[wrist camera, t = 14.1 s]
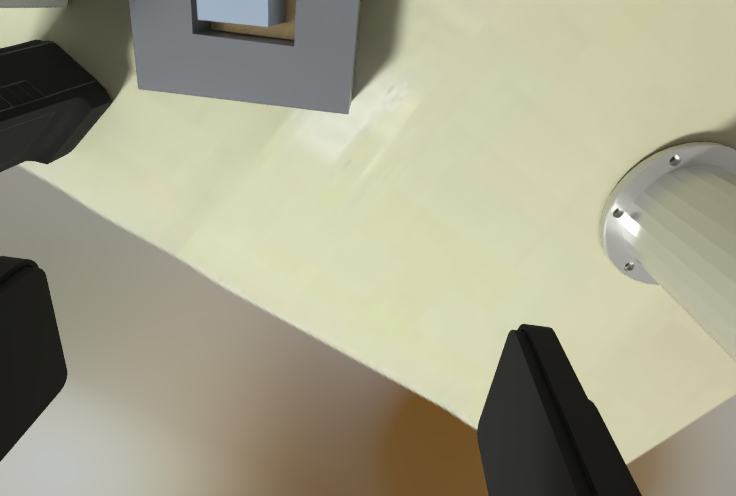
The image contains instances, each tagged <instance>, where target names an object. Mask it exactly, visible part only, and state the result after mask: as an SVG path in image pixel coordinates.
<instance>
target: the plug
mask: <svg viewBox="0 0 736 496" xmlns="http://www.w3.org/2000/svg"><path fill="white" fill-rule="evenodd" d="M197 14H198V20H206V21H215V22H225V23H234V24H244V25H253V26H263V27H270V26H274V25H278V24H281V23H285V22H286V0H197Z"/></svg>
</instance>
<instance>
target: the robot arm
mask: <svg viewBox="0 0 736 496" xmlns="http://www.w3.org/2000/svg"><path fill="white" fill-rule="evenodd" d="M600 239H601V244H602V248H603V250H604V252H605V254H606V256H607V258H608V259H609V260H610V261H611V262H612V264H613V265H614V266H615V267H616V268H617V269H618V270H619V271H620V272H621V273H622V274H624V275H626V276H627V277H629V278H631V279H633V280H636V281H639V282H642V283H646V284H654V285H660V286H661V287H662V288H663V289H664V290H665V291H666V292H667V293H668V294H669V295H670V296H671V297H672V298H673V299H674V300H675V301H676V302H677V303H678V304H679V305H680V306H681V307H682V308H683V309H684V310H685V311H686V312H687V313H688V314H689V315H690V316H691V317H692V318H693V319H694V320H695V321H696V322H697V323H698V324H699V325H700V327H701V328H702V329H703V330H704V331H705V332H706V333H707V334H708V335H709V336H710V337H711V338H712V339H713V340H714V341H715V342H716V343H717V344H718V345H719V346H720V347H721V348H722V349H723V350H724V351H725V352H726V353H727V354H728V355H729V356H730V357H731V358H732V359H733V360H734V361H735V362H736V150H735V149H733V148H731V147H728V146H725V145H722V144H719V143H711V142H691V143H685V144H681V145H677V146H672V147H670V148H667V149H665V150H662V151H660V152H658V153H655V154H654V155H652V156H650V157H649V158H647V159H645V160H644V161H642V162H641V163H639V164H638V165H637V166H636V167H634V168H633V169H632V170H631V171H630V172H628V173H627V174H626V176H625V177H624V178H623V179H622V180H621V181H620V182H619V183H618V184H617V186H616V187H615V189H614V190H613V192H612V193H611V195H610V196H609V198H608V200H607V203H606V205H605V207H604V209H603V212H602V217H601V221H600ZM66 379H67V368H66V364H65V359H64V354H63V350H62V345H61V341H60V336H59V332H58V327H57V323H56V318H55V314H54V309H53V305H52V301H51V296H50V291H49V287H48V282H47V278H46V274H45V272H44V271H43V270H42V269H40V268H39V267H38V265H37V264H36V263H35V262H34V261H32V260H29V259H20V258H13V257H6V256H0V461H1V460H2V459H3V458H4V456H6V454H7V453H8V452H9V451H10V450H11V449H12V447H13V446H14V445H15V444H16V443H17V441H18V440H19V439H20V438H21V437H22V435H23V434H24V433H25V432H26V431H27V430H28V428H29V427H30V426H31V425H32V424H33V423H34V421H35V420H36V419H37V418H38V417H39V416H40V414H41V413H42V412H43V411H44V410H45V409H46V407H47V406H48V405H49V404H50V402H51V401H52V400H53V399H54V398H55V397H56V396H57V394H58V393H59V392H60V391H61V389H62V388H63V386H64V384H65V382H66ZM477 435H478V444H479V449H480V454H481V458H482V464H483V469H484V474H485V479H486V484H487V489H488V494H489V496H642V495H641V493H640V492H639V489H638V488H637V485H636V484H635V482H634V480H633V478H632V476H631V474H630V472H629V470H628V468H627V466H626V464H625V462H624V460H623V458H622V456H621V454H620V452H619V450H618V448H617V446H616V444H615V442H614V440H613V439H612V437H611V435H610V433H609V431H608V429H607V427H606V425H605V423H604V421H603V419H602V417H601V415H600V413H599V411H598V409H597V408H596V406H595V405H594V403H593V402H592V401H590V400H589V399H588V398H587V396H586V394H585V392H584V390H583V388H582V386H581V384H580V382H579V380H578V378H577V376H576V374H575V372H574V370H573V368H572V366H571V364H570V362H569V360H568V358H567V356H566V354H565V352H564V350H563V348H562V346H561V344H560V342H559V340H558V338H557V336H556V334H555V332H554V331H553V329H552V328H550V327H543V326H535V325H528V324H522V325H520V327H519V328H518V330H511V331H510V332H509V334H508V337H507V340H506V343H505V346H504V349H503V352H502V355H501V358H500V361H499V364H498V367H497V370H496V373H495V376H494V379H493V382H492V385H491V388H490V390H489V393H488V396H487V399H486V402H485V405H484V408H483V411H482V414H481V417H480V420H479V424H478V433H477Z"/></svg>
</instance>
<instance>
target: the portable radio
mask: <svg viewBox="0 0 736 496" xmlns="http://www.w3.org/2000/svg"><path fill="white" fill-rule="evenodd" d="M111 103H112V101H111V99H110V97H109V96H108V94H107V92H106V91H105V89H104V88H103V87H102V86H101V85H100V84H99V83H98V82H97V81H96V80H95V78H93V77H92V76H91V75H90V74H89V73H88V72H87V71H86V70H84V69H83V68H82V67H81V66H80V65H79V64H78V63H77V62H76V61H74V60H73V59H72V58H71V57H70V56H69V55H68V54H67V53H66V52H64V51H63V50H62V49H61V48H60V47H59V46H58V45H57V44H56V43H54V42H52V41H44V42H43V41H41V40H33V41H29V42H25V43H22V44H18V45H14V46H10V47H5V48H0V172H2V171H4V170H6V169H8V168H11V167H13V166H15V165H18V164H20V163H22V162H24V161H36V162H40V163H44V164H49V163H51V162H53V161H55V160H57V159H59V158H61V157H63V156H65V155H66V154H68V153H70V152H71V151H72V150H73V149H74V148H75V146H76V145H77V144H78V143H79V142H80V140H81V139H82V138H83V137H84V136H85V135H86V133H87V132H88V131H89V130H90V129H91V127H92V126H93V125H94V124H95V123H96V121H97V120H98V119H99V118H100V117H101V115H102V114H103V113H104V112H105V111H106V109H107V108H108V107H109V106H110V105H111Z"/></svg>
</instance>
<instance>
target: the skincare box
mask: <svg viewBox="0 0 736 496" xmlns="http://www.w3.org/2000/svg"><path fill="white" fill-rule="evenodd" d="M67 3H68V0H0V8H41V7H44V8H51V7H67Z"/></svg>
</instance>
